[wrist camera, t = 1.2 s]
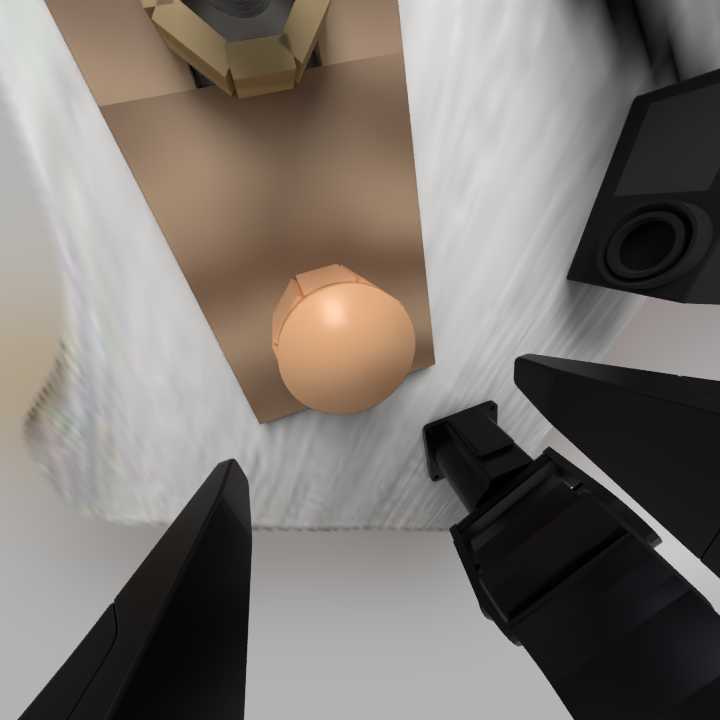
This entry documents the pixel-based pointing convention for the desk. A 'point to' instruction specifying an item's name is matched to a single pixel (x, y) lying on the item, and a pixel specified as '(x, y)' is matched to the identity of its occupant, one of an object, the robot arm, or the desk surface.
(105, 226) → the desk surface
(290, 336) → the cap
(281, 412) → the board
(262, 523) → the desk surface
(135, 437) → the desk surface
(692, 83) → the digital camera
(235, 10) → the post
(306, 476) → the desk surface
